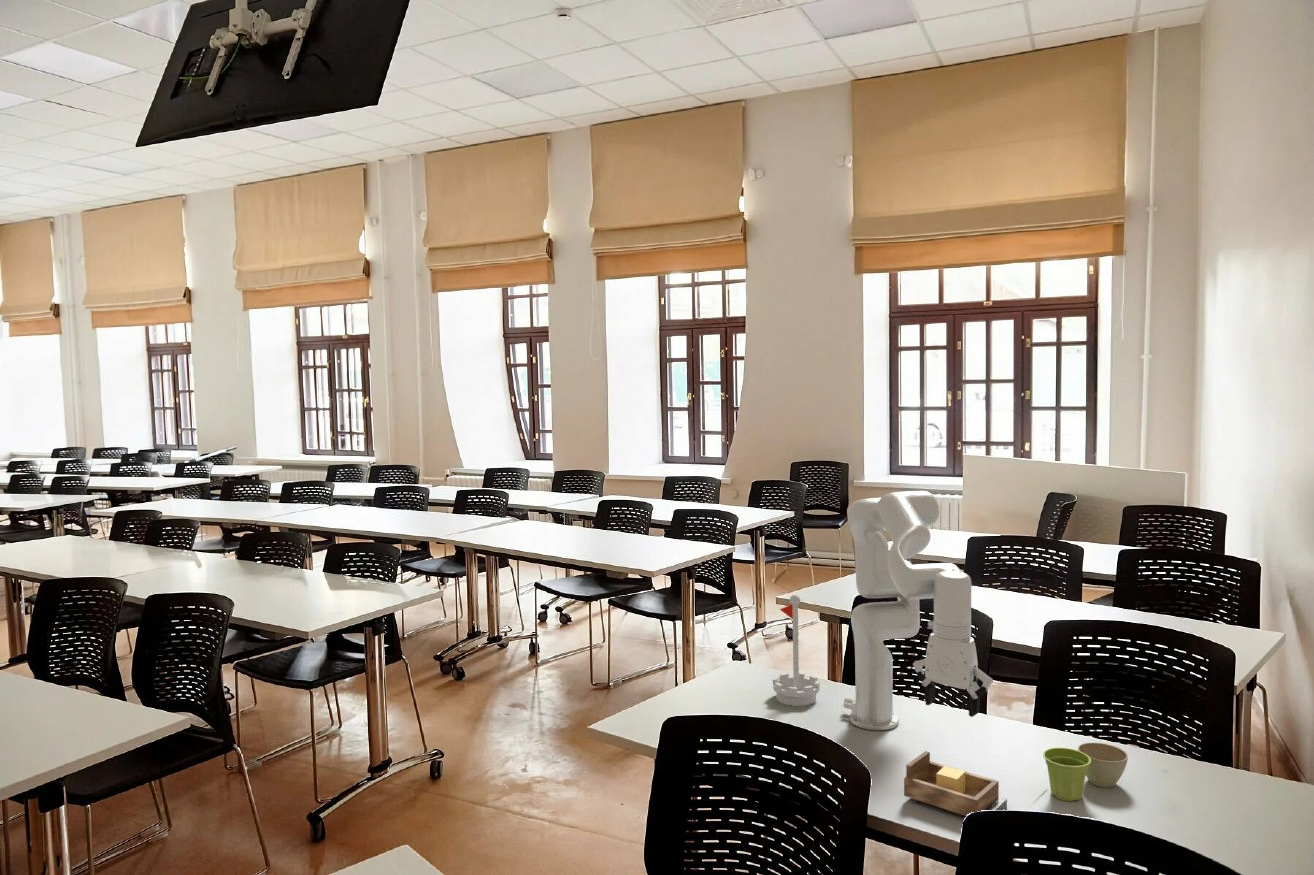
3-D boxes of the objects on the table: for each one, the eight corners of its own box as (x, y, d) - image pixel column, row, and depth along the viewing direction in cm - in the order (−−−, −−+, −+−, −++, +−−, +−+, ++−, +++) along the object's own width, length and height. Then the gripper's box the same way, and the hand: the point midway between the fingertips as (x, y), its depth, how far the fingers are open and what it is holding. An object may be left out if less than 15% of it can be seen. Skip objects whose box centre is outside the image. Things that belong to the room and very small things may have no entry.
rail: (862, 789, 203) (862, 779, 203) (887, 772, 211) (886, 762, 211) (985, 830, 184) (985, 819, 184) (1006, 810, 192) (1006, 799, 192)
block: (936, 794, 194) (936, 773, 194) (944, 786, 198) (944, 766, 197) (957, 800, 191) (957, 779, 191) (965, 791, 195) (965, 771, 195)
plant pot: (1087, 809, 191) (1087, 769, 191) (1039, 799, 196) (1039, 760, 196) (1092, 791, 199) (1093, 753, 199) (1046, 781, 204) (1047, 744, 204)
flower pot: (1107, 797, 197) (1108, 765, 196) (1067, 779, 205) (1067, 748, 205) (1137, 786, 201) (1138, 755, 201) (1097, 769, 210) (1097, 738, 209)
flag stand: (828, 697, 259) (827, 593, 256) (803, 711, 249) (802, 603, 246) (789, 687, 267) (788, 586, 265) (764, 700, 257) (762, 595, 255)
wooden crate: (904, 801, 196) (904, 766, 195) (927, 782, 204) (927, 749, 203) (976, 825, 185) (976, 788, 185) (998, 805, 193) (998, 770, 193)
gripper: (906, 627, 196) (905, 704, 197) (984, 643, 184) (983, 725, 186) (922, 619, 201) (922, 694, 203) (999, 634, 190) (998, 714, 191)
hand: (951, 709), depth 194 cm, fingers open, 9 cm apart
